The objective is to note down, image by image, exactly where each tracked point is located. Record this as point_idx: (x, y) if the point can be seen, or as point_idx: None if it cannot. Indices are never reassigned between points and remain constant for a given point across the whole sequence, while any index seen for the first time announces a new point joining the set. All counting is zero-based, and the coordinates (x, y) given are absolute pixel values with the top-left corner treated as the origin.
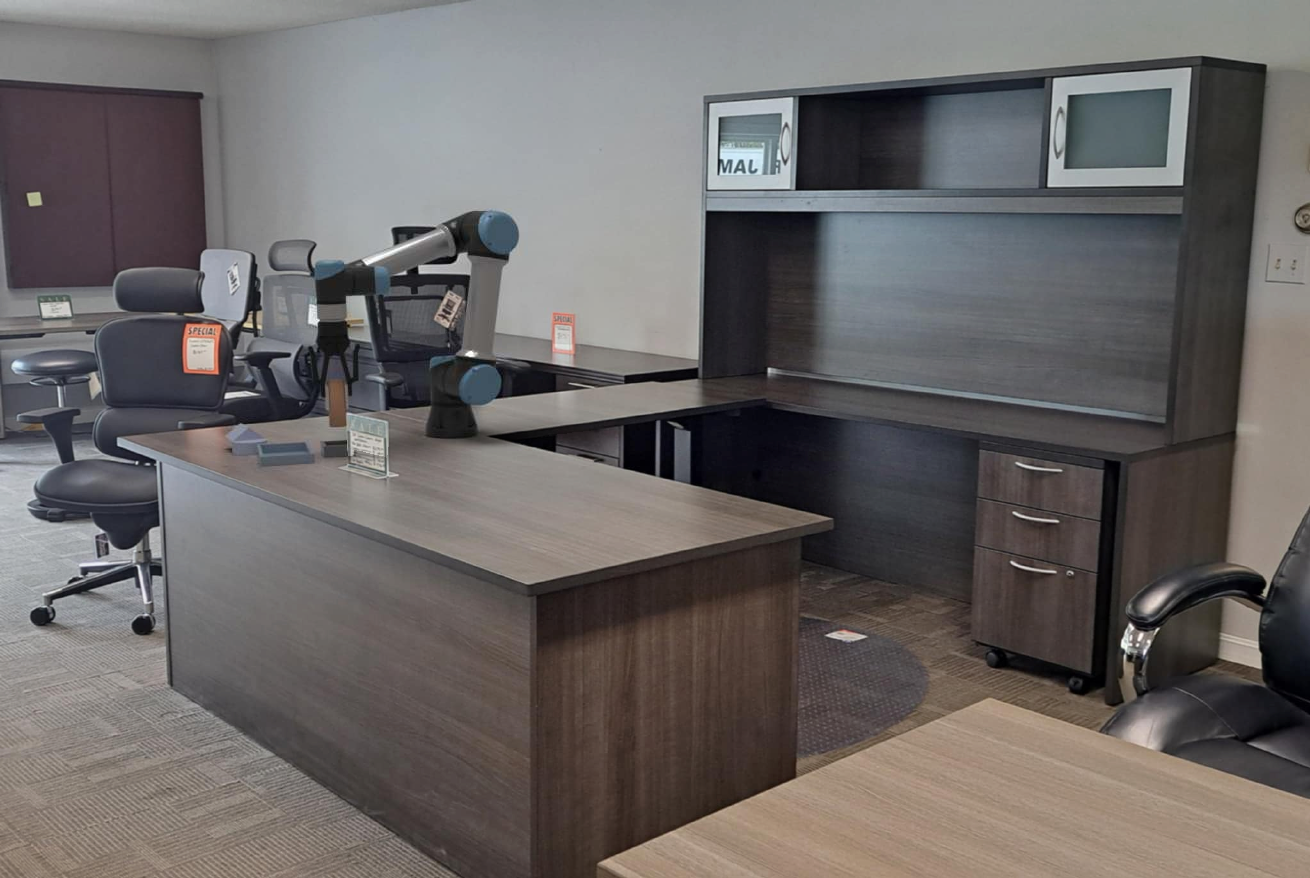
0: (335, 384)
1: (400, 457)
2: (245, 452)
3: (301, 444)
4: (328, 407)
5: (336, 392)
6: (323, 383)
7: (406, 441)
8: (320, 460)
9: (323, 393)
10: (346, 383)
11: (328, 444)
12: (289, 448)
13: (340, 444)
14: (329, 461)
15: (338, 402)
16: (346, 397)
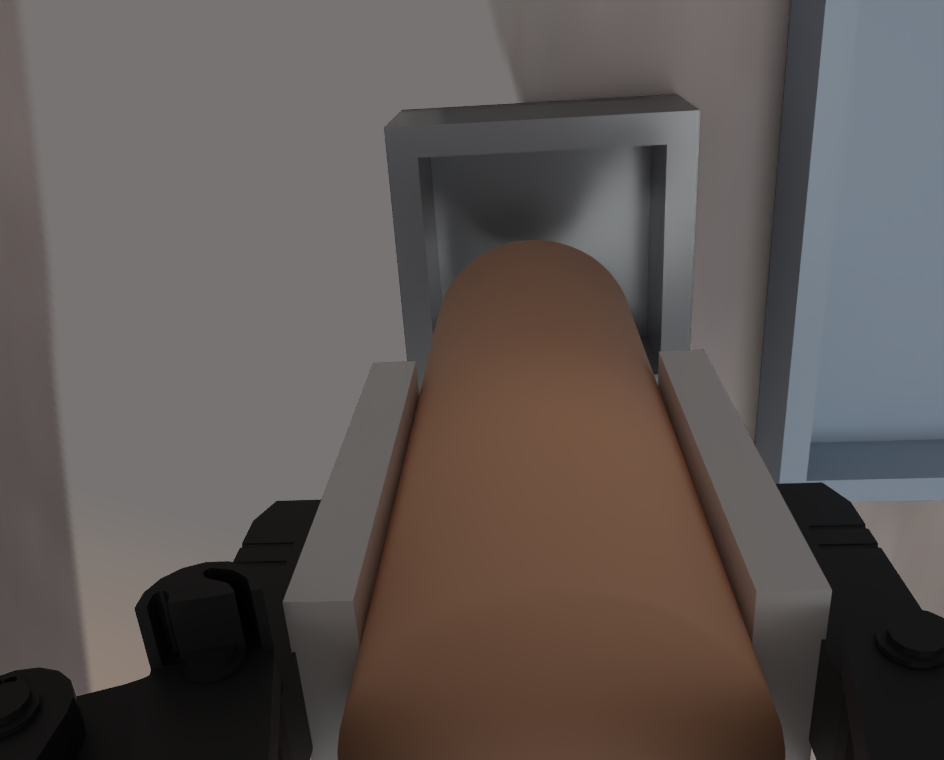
0: (584, 547)
1: (11, 37)
2: None
3: (830, 471)
4: (682, 368)
5: (559, 440)
6: (901, 632)
7: (43, 650)
8: (708, 95)
9: (812, 530)
10: (311, 745)
11: None
12: (922, 455)
13: None
14: (637, 21)
15: (524, 360)
16: (371, 449)
